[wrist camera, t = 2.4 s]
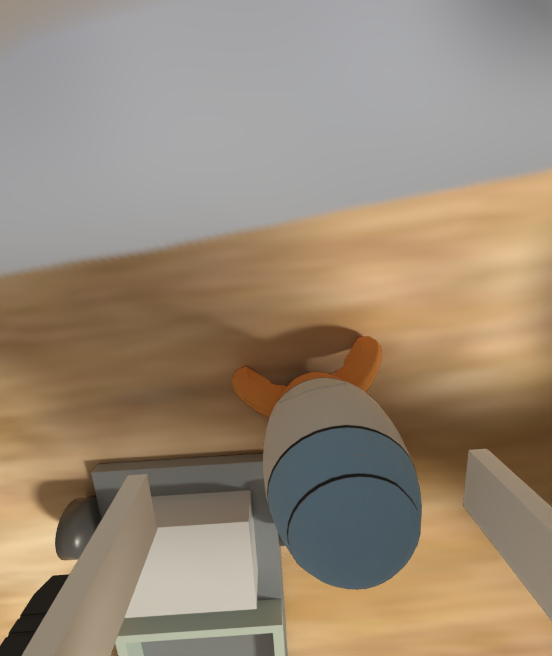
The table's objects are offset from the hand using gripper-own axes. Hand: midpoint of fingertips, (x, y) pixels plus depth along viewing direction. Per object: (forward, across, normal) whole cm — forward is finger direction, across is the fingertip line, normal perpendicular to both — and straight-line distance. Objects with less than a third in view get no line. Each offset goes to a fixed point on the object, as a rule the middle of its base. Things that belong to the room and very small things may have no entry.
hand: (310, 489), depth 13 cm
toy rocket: (+12, 0, 0) cm, 12 cm away
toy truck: (+11, +8, +20) cm, 25 cm away
